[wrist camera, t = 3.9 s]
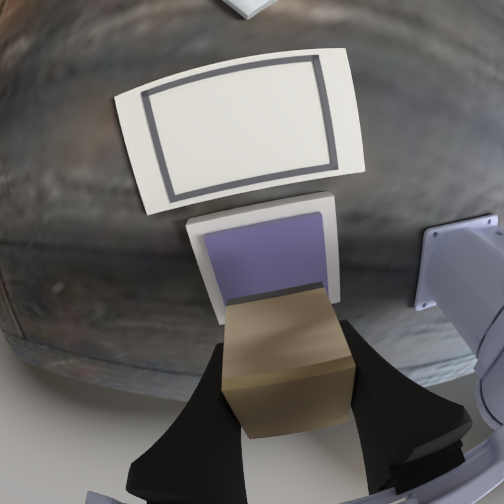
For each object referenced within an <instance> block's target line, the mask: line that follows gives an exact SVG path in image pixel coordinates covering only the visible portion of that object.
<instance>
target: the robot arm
mask: <svg viewBox="0 0 504 504" xmlns="http://www.w3.org/2000/svg"><path fill="white" fill-rule="evenodd" d="M497 222H498V216H497V215H495V214H491V215H487V216H482V217H478V218H474V219H469V220H465V221H460V222H456V223H451V224H446V225H442V226H437V227H433V228H428V229H427V230H426V231H425V232H424V236H423V247H422V256H421V265H420V272H419V279H418V286H417V292H416V298H415V303H414V308H415V309H416V311H420V310H423V309H425V308H428V307H431V306H434V305H438V306H439V307H440V309H441V310H442V311H443V312H444V314H445V315H446V316H447V318H448V319H449V320H450V321H451V323H452V324H453V325H454V327H455V328H456V329H457V331H458V332H459V333H460V335H461V336H462V338H463V339H464V340H465V342H466V343H467V345H468V346H469V347H470V349H471V350H472V352H473V353H474V355H475V356H476V358H477V359H478V361H477V363H476V365H475V366H474V370H475V372H476V373H477V375H478V376H479V379H478V381H477V384H476V388H475V397H476V403H477V406H478V410H479V412H480V414H481V416H482V417H483V419H484V420H485V422H486V423H487V424H488V425H489V426H490V427H491V428H493V429H494V430H496V431H495V432H493V433H492V434H491V435H490V436H489V437H488V439H486V440H485V441H484V442H482V443H480V444H479V445H477V446H476V447H474V448H473V449H471V450H469V451H468V452H466V453H464V454H463V453H462V450H461V447H462V446H463V444H462V442H461V438H462V437H463V436H464V435H465V434H466V433H467V432H468V431H469V430H470V428H471V427H472V424H473V422H472V420H471V418H470V415H469V414H468V412H467V411H466V409H465V408H464V406H462V405H459V404H457V403H454V402H452V401H449V400H447V399H444V398H442V397H440V396H438V395H436V394H434V393H432V392H430V391H429V390H427V389H425V388H423V387H422V386H420V385H418V384H417V383H415V382H414V381H412V380H411V379H409V378H408V377H406V376H405V375H403V374H402V373H401V372H399V371H398V370H397V369H395V368H394V367H393V366H392V365H391V364H389V363H388V362H387V361H386V360H385V359H384V358H383V357H381V356H380V355H379V354H378V353H377V352H376V351H375V350H374V349H373V348H372V347H371V346H370V345H369V344H368V343H367V342H366V341H365V340H364V339H363V338H362V337H361V335H360V334H359V333H358V332H357V331H356V330H355V329H354V328H353V326H352V325H351V324H350V323H349V321H347V320H342V321H339V324H340V326H341V329H342V331H343V334H344V337H345V339H346V342H347V344H348V347H349V349H350V352H351V355H352V357H353V360H354V363H355V365H356V369H355V377H354V385H353V392H352V398H351V408H352V411H353V414H354V417H355V420H356V424H357V429H358V433H359V437H360V442H361V447H362V452H363V458H364V463H365V469H366V476H367V483H368V491H369V496H366V497H363V498H359V499H355V500H352V501H348V502H344V503H340V504H389V503H391V502H394V501H397V500H399V499H402V498H404V497H407V496H408V497H407V498H406V500H405V501H403V502H401V503H398V504H473V503H475V502H476V501H477V500H479V499H480V498H482V497H483V496H484V495H486V494H487V493H488V492H490V491H491V490H492V489H493V488H495V487H496V486H497V485H498V484H500V483H501V482H502V481H503V480H504V230H503V229H501V228H500V227H498V226H497ZM434 233H435V234H434ZM433 234H434V235H433ZM223 351H224V343H219V344H217V345H216V346H215V349H214V351H213V354H212V356H211V359H210V361H209V363H208V365H207V368H206V370H205V372H204V374H203V376H202V378H201V380H200V382H199V384H198V386H197V388H196V389H195V391H194V393H193V395H192V396H191V398H190V400H189V401H188V403H187V404H186V406H185V407H184V409H183V410H182V412H181V413H180V415H179V416H178V417H177V419H176V420H175V421H174V423H173V424H172V425H171V426H170V427H169V429H168V430H167V431H166V432H165V433H164V434H163V435H162V436H161V437H160V439H158V441H157V442H156V443H155V444H154V445H153V446H152V447H151V448H149V449H148V450H147V451H146V452H145V453H144V454H142V455H141V456H140V457H139V458H138V459H137V460H135V461H134V462H133V463H131V466H130V469H129V473H128V478H127V484H126V490H127V491H128V492H129V493H130V494H132V495H134V496H136V497H139V498H141V499H143V500H146V501H147V504H248V503H247V497H246V489H245V481H244V472H243V462H242V449H241V424H240V423H239V421H238V419H237V417H236V416H235V414H234V412H233V410H232V409H231V407H230V405H229V403H228V402H227V400H226V398H225V396H224V394H223V393H222V391H221V390H222V369H223ZM85 504H126V503H122V502H119V501H117V500H115V499H113V498H110V497H107V496H104V495H101V494H98V493H94V492H91V491H88V492H87V497H86V502H85Z"/></svg>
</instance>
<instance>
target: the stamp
mask: <svg viewBox="0 0 504 504" xmlns="http://www.w3.org/2000/svg"><path fill="white" fill-rule="evenodd" d="M355 369H356V365H355V363H354V360H353V357H352V355H351V352H350V349H349V347H348V344H347V342H346V339H345V337H344V334H343V331H342V329H341V326H340V324H339V321H338V319H337V317H336V314H335V312H334V309H333V307H332V304H331V302H330V300H329V297H328V295H327V292H326V290H325V288H324V285H323V283H322V281H320V282H315V283H310V284H306V285H301V286H296V287H291V288H286V289H281V290H275V291H270V292H265V293H259V294H254V295H248V296H243V297H237V298H231V299H227V302H226V317H225V333H224V351H223V369H222V390H221V391H222V393H223V394H224V396H225V398H226V400H227V402H228V403H229V405H230V407H231V409H232V410H233V412H234V414H235V416H236V417H237V419H238V421H239V423H240V424H241V426H242V427H243V429H244V431H245V433H246V434H247V436H248V437H249V439H256V438H265V437H273V436H280V435H287V434H292V433H299V432H304V431H309V430H314V429H319V428H324V427H328V426H333V425H336V424H341V423H344V422H348V416H349V410H350V405H351V398H352V392H353V385H354V377H355Z"/></svg>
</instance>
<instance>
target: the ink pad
mask: <svg viewBox="0 0 504 504" xmlns="http://www.w3.org/2000/svg"><path fill="white" fill-rule="evenodd" d="M185 226H186V229H187V232H188V235H189V239H190V242H191V245H192V248H193V251H194V254H195V257H196V260H197V263H198V266H199V269H200V272H201V275H202V277H203V280H204V283H205V286H206V289H207V292H208V295H209V297H210V300H211V303H212V306H213V308H214V311H215V314H216V317H217V319H218V322H219V325H222V324H225V317H226V302H227V299H231V298H237V297H243V296H248V295H254V294H259V293H265V292H270V291H275V290H281V289H286V288H291V287H296V286H301V285H306V284H310V283H315V282H320V281H322V283H323V285H324V288H325V290H326V292H327V295H328V297H329V300H330V302H331V304H334V303H338V302H340V274H339V253H338V237H337V224H336V212H335V202H334V196H333V195H332V194H331V193H330V192H329V191H324V192H318V193H312V194H306V195H301V196H295V197H290V198H284V199H279V200H274V201H269V202H264V203H259V204H254V205H249V206H244V207H239V208H234V209H229V210H225V211H220V212H216V213H211V214H207V215H202V216H198V217H193V218H189V219H188V221H187V223H186V225H185Z"/></svg>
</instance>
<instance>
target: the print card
mask: <svg viewBox="0 0 504 504" xmlns="http://www.w3.org/2000/svg"><path fill="white" fill-rule="evenodd" d="M114 99H115V103H116V108H117V112H118V116H119V120H120V124H121V128H122V132H123V136H124V140H125V144H126V147H127V151H128V155H129V158H130V162H131V165H132V169H133V172H134V175H135V179H136V182H137V185H138V188H139V191H140V195H141V198H142V201H143V204H144V207H145V210H146V213H147V215H150V214H154V213H158V212H162V211H165V210H169V209H173V208H177V207H181V206H185V205H190V204H194V203H198V202H202V201H206V200H211V199H215V198H220V197H224V196H229V195H233V194H238V193H243V192H248V191H253V190H258V189H263V188H268V187H273V186H278V185H284V184H289V183H295V182H301V181H306V180H312V179H319V178H325V177H331V176H338V175H345V174H352V173H359V172H365V165H364V155H363V146H362V138H361V130H360V123H359V116H358V110H357V104H356V98H355V92H354V87H353V82H352V77H351V72H350V67H349V63H348V58H347V54H346V50H345V48H327V49H308V50H295V51H285V52H277V53H269V54H262V55H255V56H249V57H244V58H238V59H233V60H229V61H224V62H219V63H215V64H211V65H207V66H203V67H199V68H195V69H192V70H188V71H185V72H181V73H178V74H175V75H171V76H168V77H165V78H162V79H159V80H156V81H153V82H151V83H148V84H145V85H142V86H140V87H137V88H135V89H132V90H130V91H127V92H125V93H122V94H120V95H118V96H115V97H114Z"/></svg>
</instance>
